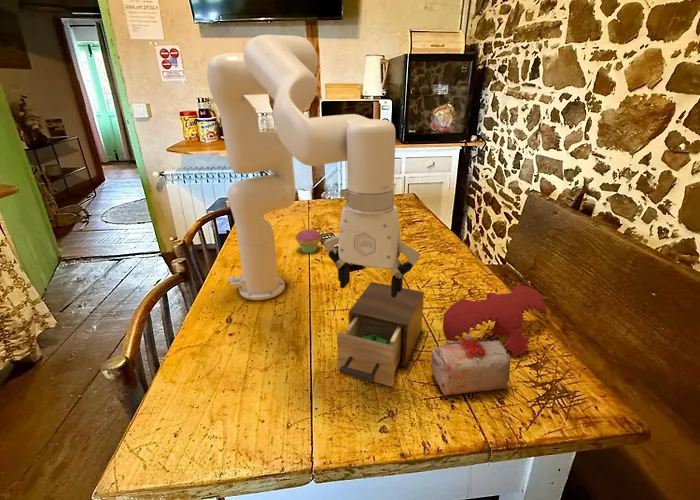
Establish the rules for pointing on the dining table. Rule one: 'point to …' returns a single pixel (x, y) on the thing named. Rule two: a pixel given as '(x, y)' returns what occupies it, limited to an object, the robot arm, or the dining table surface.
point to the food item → (470, 366)
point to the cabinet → (392, 312)
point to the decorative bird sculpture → (495, 316)
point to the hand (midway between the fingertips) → (369, 289)
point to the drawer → (370, 351)
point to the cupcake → (308, 239)
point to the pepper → (374, 338)
